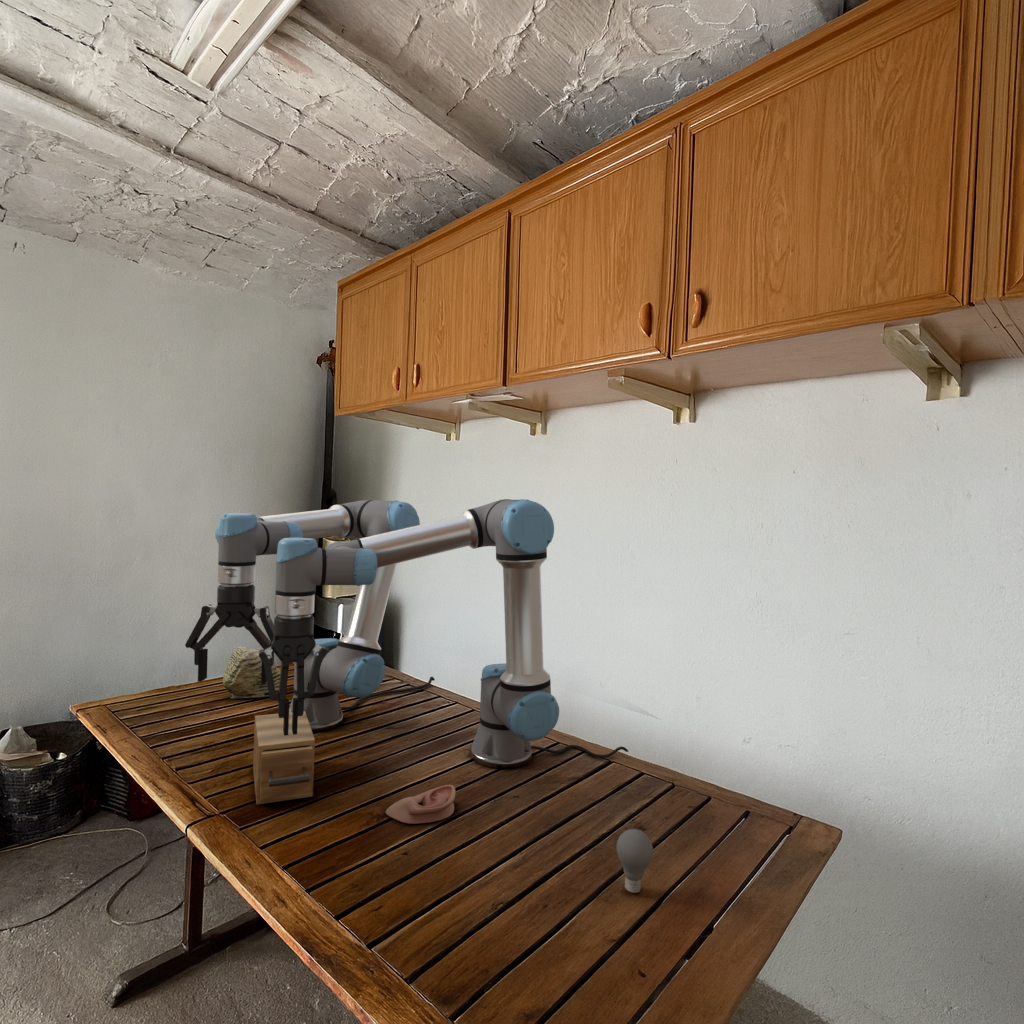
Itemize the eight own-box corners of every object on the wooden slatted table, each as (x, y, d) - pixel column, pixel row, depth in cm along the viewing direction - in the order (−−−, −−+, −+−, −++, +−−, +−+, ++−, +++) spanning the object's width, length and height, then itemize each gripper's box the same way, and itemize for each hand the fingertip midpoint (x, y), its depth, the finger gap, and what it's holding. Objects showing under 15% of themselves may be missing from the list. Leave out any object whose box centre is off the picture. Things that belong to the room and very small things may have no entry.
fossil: (218, 695, 195) (220, 647, 195) (278, 685, 208) (279, 640, 207) (228, 703, 189) (230, 653, 188) (289, 692, 201) (290, 645, 201)
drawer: (314, 808, 127) (316, 759, 126) (261, 817, 123) (263, 765, 122) (302, 762, 148) (303, 720, 148) (256, 768, 144) (258, 724, 143)
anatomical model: (379, 799, 125) (401, 775, 136) (379, 819, 125) (400, 793, 136) (444, 809, 122) (460, 783, 134) (443, 829, 122) (460, 802, 134)
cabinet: (312, 796, 134) (315, 739, 134) (256, 804, 129) (258, 746, 129) (303, 761, 151) (305, 711, 151) (253, 767, 146) (254, 715, 146)
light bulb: (610, 879, 108) (613, 822, 108) (644, 879, 109) (647, 822, 109) (619, 902, 102) (622, 840, 102) (655, 901, 103) (658, 840, 103)
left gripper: (169, 584, 134) (167, 684, 134) (288, 588, 135) (285, 687, 135) (187, 579, 141) (184, 674, 142) (299, 583, 142) (296, 677, 143)
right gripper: (257, 620, 120) (253, 743, 120) (333, 617, 126) (328, 735, 126) (255, 613, 127) (251, 729, 127) (327, 610, 133) (323, 722, 133)
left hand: (233, 680), depth 139 cm, fingers open, 13 cm apart
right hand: (290, 732), depth 127 cm, fingers closed
